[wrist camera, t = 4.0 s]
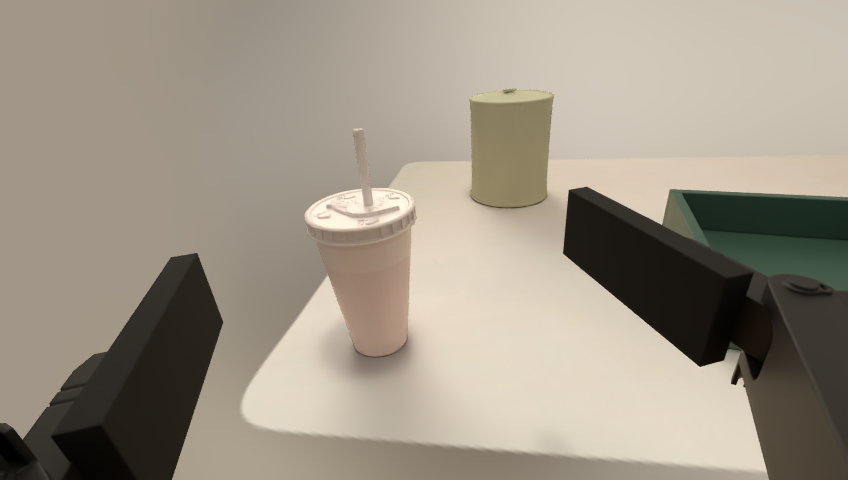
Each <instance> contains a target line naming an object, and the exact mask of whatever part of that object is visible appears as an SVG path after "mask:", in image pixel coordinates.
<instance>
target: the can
mask: <svg viewBox="0 0 848 480" xmlns="http://www.w3.org/2000/svg"><path fill="white" fill-rule="evenodd" d="M553 98H554V94H553V93H551V92H547V91H540V90H516V89H506V90H503V91H495V92H487V93H482V94H477V95H474V96H472V97H471V98H470V109H471V142H472V143H471V144H472V189H471V196H472V198H473V199H474V200H476V201H477V202H479V203H482V204H485V205H489V206H494V207H505V208H511V207H524V206H529V205H533V204H536V203H539V202H540V201H542V200H544V199H545V198H546V196H547V168H548V153H549V139H550V127H551V126H550V125H551V114H552V104H553Z"/></svg>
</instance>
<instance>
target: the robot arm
mask: <svg viewBox="0 0 848 480" xmlns="http://www.w3.org/2000/svg"><path fill="white" fill-rule="evenodd" d="M563 254H564V255H565V256H566V257H568V258H569V259H570V260H571V261H573V262H574V263H575V264H576V265H577V266H579V267H580V268H581V269H582V270H583V271H585V272H586V273H587V274H588V275H589V276H591V277H592V278H593V279H594V280H595V281H597V282H598V283H599V284H600V285H602V286H603V287H604V288H605V289H606V290H608V291H609V292H610V293H611V294H612V295H614V296H615V297H616V298H617V299H618V300H620V301H621V302H622V303H623V304H624V305H626V306H627V307H628V308H629V309H631V310H632V311H633V312H634V313H635V314H637V315H638V316H639V317H640V318H641V319H643V320H644V321H645V322H646V323H647V324H649V325H650V326H651V327H652V328H654V329H655V330H656V331H657V332H658V333H660V334H661V335H662V336H663V337H664V338H666V339H667V340H668V341H669V342H670V343H672V344H673V345H674V346H675V347H676V348H678V349H679V350H680V351H681V352H683V353H684V354H685V355H686V356H687V357H689V358H690V359H691V360H692V361H693V362H695V363H696V364H697V365H698V366H699V367H701V366H705V365H708V364H712V363H716V362H719V361H723V360H724V359H725V356H726V353H727V350H728V347H729V344H730V341H731V342H732V343H733V344H735V345H736V346H738V347H739V348H740V349H742V351H741V354H740V357H739V359H738V362H737V365H736V368H735V370H734V373H733V376H732V380H731V384H734V385H736V384H737V381H738V379H739V378H741V377H743V380H744V387H745V388H746V392H747V396H748V400H749V403H750V407H751V411H752V415H753V419H754V423H755V427H756V430H757V434H758V438H759V442H760V446H761V450H762V453H763V457H764V461H765V465H766V469H767V473H768V476H769V480H848V291H835V290H834V289H833V288H832V287H830V286H828V285H827V284H824V283H822V282H820V281H818V280H815V279H812V278H809V277H805V276H800V275H795V274H777V275H772V276H771V277H768V276H766V275H764V274H762V273H760V272H758V271H756V270H754V269H752V268H750V267H748V266H746V265H744V264H742V263H740V262H738V261H736V260H734V259H732V258H730V257H728V256H724V255H723V254H722V253H720V252H718V251H716V250H714V249H713V250H711V248H710V247H708V246H706V245H705V244H703V243H701V242H699V241H697V240H694V239H691V238H687V237H684V236H682V235H680V234H678V233H676V232H674V231H672V230H670V229H668V228H667V227H665V226H663V225H661V224H659V223H657V222H655V221H653V220H651V219H649V218H647V217H645V216H643V215H641V214H639V213H637V212H635V211H633V210H631V209H629V208H627V207H625V206H623V205H622V204H620V203H618V202H616V201H614V200H612V199H610V198H608V197H606V196H604V195H602V194H600V193H598V192H596V191H594V190H592V189H590V188H588V187H583V188H577V189H571V190H569V194H568V205H567V216H566V227H565V238H564V249H563ZM222 324H223V320H222V318H221V315H220V312H219V310H218V307H217V304H216V302H215V299H214V296H213V294H212V291H211V289H210V286H209V283H208V281H207V278H206V276H205V273H204V270H203V267H202V265H201V262H200V259H199V257H198V254H197V253H194V254H188V255H183V256H177V257H171V258H170V260H169V261H168V263H167V264H166V266H165V267H164V269H163V270H162V272H161V273H160V275H159V276H158V278H157V279H156V281H155V282H154V284H153V285H152V286H151V288H150V290H149V291H148V292H147V294H146V295H145V297H144V298H143V300H142V301H141V303H140V304H139V306H138V307H137V309H136V310H135V312H134V313H133V315H132V316H131V318H130V319H129V321H128V322H127V323H126V325H125V326H124V328H123V329H122V331H121V332H120V334H119V336H118V337H117V338H116V340H115V341H114V343H113V344H112V346H111V347H110V349H109V350H108V352H104V353H98V354H94V355H92V356H91V357H90V358H89V359H88V360H86V361H85V362H84V363H83V364H82V365H80V366H79V367H78V368H77V369H76V370H74V371H73V372H72V374H71V375H70V376H69V378H68V379H67V380H66V382H65V383H64V385H63V386H62V387H61V392H58V393H57V394H56V395H55V397H54V398H53V399H52V401H51V402H50V407H47V408H46V409H45V410H44V412H43V413H42V414H41V416H40V417H39V418H38V420H37V421H36V422H35V424H34V425H33V427H32V428H31V429H30V431H29V432H28V433H27V435H26V436H25V437H24V439H23V440H22V439H21V438H20V436H19V435H18V434H17V432H16V431H15V430H14V429H13V428H12V427H11V426H9V425H8V424H6V423H0V480H172V478H173V474H174V471H175V468H176V465H177V462H178V459H179V456H180V453H181V450H182V447H183V444H184V441H185V437H186V434H187V432H188V429H189V426H190V422H191V419H192V416H193V413H194V410H195V407H196V404H197V401H198V398H199V395H200V392H201V389H202V386H203V383H204V380H205V376H206V373H207V370H208V367H209V364H210V361H211V358H212V355H213V352H214V349H215V345H216V343H217V340H218V336H219V333H220V330H221V327H222Z"/></svg>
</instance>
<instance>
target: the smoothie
mask: <svg viewBox="0 0 848 480" xmlns="http://www.w3.org/2000/svg"><path fill="white" fill-rule="evenodd" d="M353 137H354V143H355V149H356V156H357V163H358V170H359V176H360V182H361V189H357V190H350V191H345V192H342V193H338V194H334V195H331V196H328V197H326V198H324V199H322V200H320V201H318V202H316V203H315V204H313V205H312V206H311V207H310V208H309V209H308V210H307V212H306V213H305V221H306V225H307V228H306V230H307V234H308V236H309V237H310V238H312V239H313V240H314V241H316V242H317V245H318V248H319V251H320V254H321V257H322V260H323V262H324V264H325V267H326V270H327V273H328V276H329V278H330V281H331V284H332V287H333V289H334V292H335V295H336V297H337V300H338V303H339V306H340V308H341V311H342V314H343V317H344V319H345V322H346V325H347V328H348V330H349V333H350V336H351V338H352V341H353V344H354V346H355V348H356V350H357V351H358V352H360V353H361V354H364V355H367V356H372V357H379V356H385V355H389V354H392V353H394V352H396V351H397V350H399V349H400V348H401V347H402V346H403V345H404V344H405V342H406V340H407V334H408V306H409V279H410V251H411V227H412V226H413V225H414V223H415V221H416V219H417V216H416V211H415V202H414V200H413V198H412V197H411V196H409V195H408V194H406V193H404V192H401V191H398V190H393V189H385V188H371V183H370V175H369V168H368V161H367V154H366V147H365V139H364V132H363V129H361V128H359V129H353Z"/></svg>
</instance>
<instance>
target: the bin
mask: <svg viewBox="0 0 848 480" xmlns="http://www.w3.org/2000/svg"><path fill="white" fill-rule="evenodd" d="M662 225H663V226H665V227H667V228H668V229H670V230H672V231H674V232H676V233H678V234H680V235H682V236H684V237H687V238H691V239H694V240H697V241H699V242H701V243H703V244H705V245H706V246H708V247H710V248H711V250H713V249H714V250H716V251H718V252H720V253H722V254H723V255H724V256H728V257H730V258H732V259H734V260H736V261H738V262H740V263H742V264H744V265H746V266H748V267H750V268H752V269H754V270H756V271H758V272H760V273H762V274H764V275H766V276H768V277H771V276H772V275H777V274H795V275H800V276H805V277H809V278H812V279H815V280H818V281H820V282H822V283H824V284H827V285H828V286H830V287H832V288H833V289H834V290H835V291H848V197H828V196H806V195H784V194H763V193H741V192H719V191H697V190H676V189H670V191H669V196H668V201H667V205H666V210H665V214H664V219H663V224H662ZM728 348H732V349H738V350H742V349H740V348H739V347H738V346H736V345H735V344H733V343H732V342H731V341H730V344H729V347H728Z"/></svg>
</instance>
